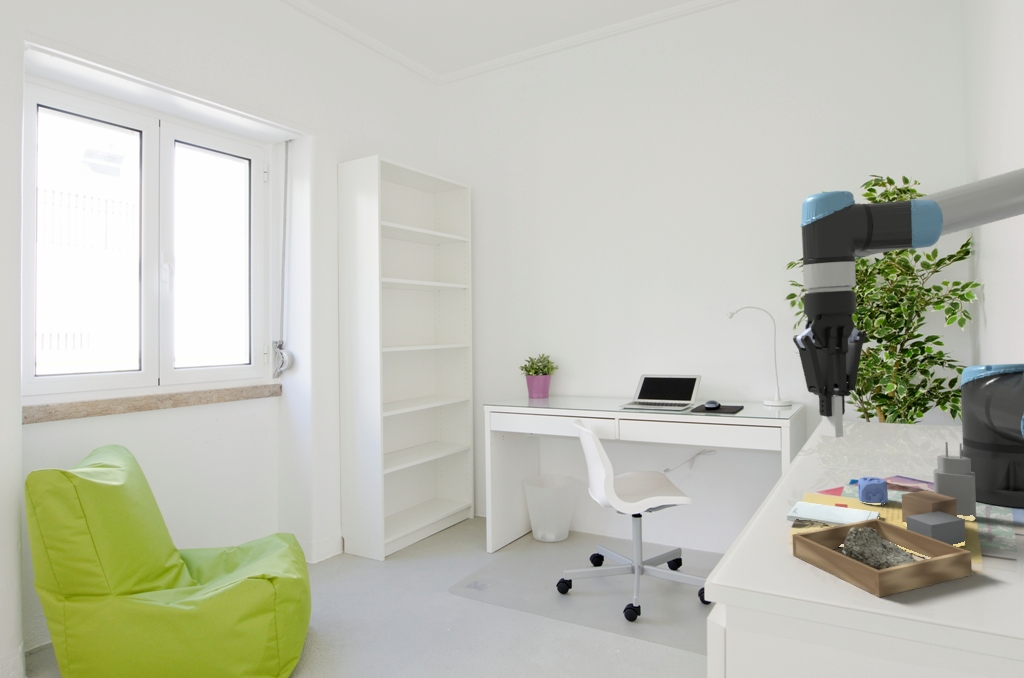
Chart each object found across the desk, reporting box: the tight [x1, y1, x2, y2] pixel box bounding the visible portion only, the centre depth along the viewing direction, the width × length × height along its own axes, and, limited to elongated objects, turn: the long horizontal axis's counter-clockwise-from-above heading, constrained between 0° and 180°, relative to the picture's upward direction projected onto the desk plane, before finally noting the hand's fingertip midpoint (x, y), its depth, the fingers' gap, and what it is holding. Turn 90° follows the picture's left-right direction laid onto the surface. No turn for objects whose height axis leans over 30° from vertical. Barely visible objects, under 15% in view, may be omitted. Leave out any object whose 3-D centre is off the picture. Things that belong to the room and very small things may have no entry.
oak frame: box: [792, 519, 973, 598], centre depth 84 cm, size 15×14×3 cm
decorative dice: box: [857, 476, 889, 504], centre depth 109 cm, size 4×4×4 cm
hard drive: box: [786, 501, 881, 526], centre depth 102 cm, size 2×8×12 cm
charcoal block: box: [906, 511, 966, 545], centre depth 90 cm, size 6×4×4 cm, turn 105°
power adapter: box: [933, 441, 977, 519], centre depth 100 cm, size 3×5×12 cm, turn 53°
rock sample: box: [842, 523, 918, 570], centre depth 82 cm, size 10×8×9 cm
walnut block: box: [901, 489, 957, 523], centre depth 96 cm, size 5×5×5 cm
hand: (832, 435), depth 102 cm, fingers closed
